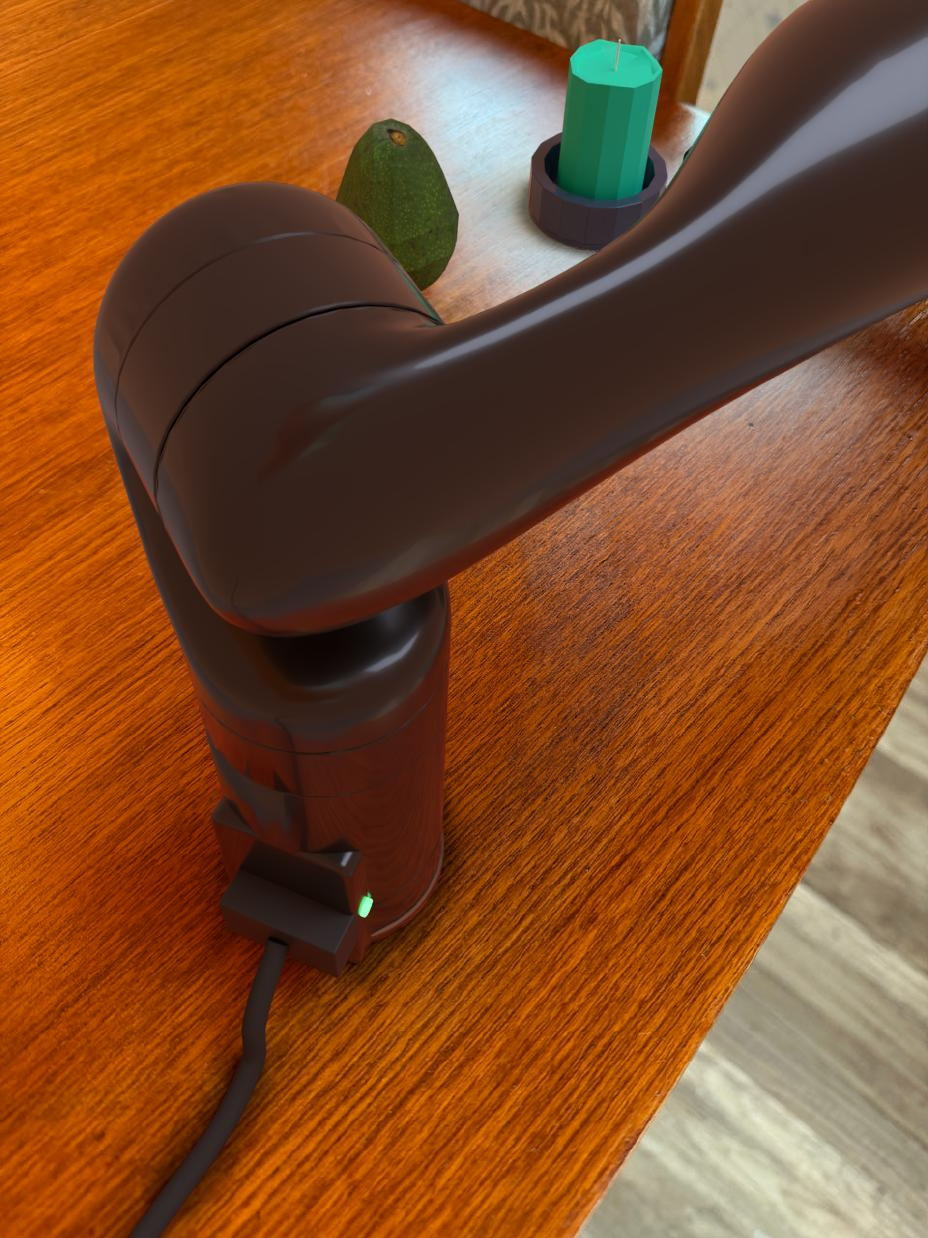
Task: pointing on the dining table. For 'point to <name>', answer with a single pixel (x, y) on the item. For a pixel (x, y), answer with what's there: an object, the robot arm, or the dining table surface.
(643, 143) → the candle
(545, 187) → the bowl
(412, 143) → the avocado
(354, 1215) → the dining table surface
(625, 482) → the dining table surface
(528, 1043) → the dining table surface
